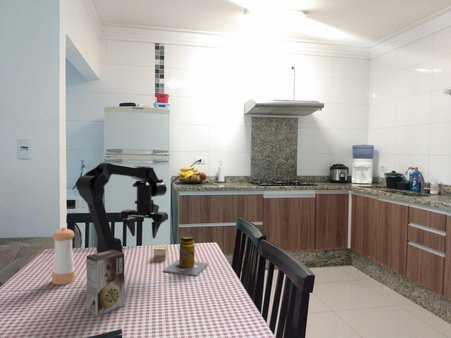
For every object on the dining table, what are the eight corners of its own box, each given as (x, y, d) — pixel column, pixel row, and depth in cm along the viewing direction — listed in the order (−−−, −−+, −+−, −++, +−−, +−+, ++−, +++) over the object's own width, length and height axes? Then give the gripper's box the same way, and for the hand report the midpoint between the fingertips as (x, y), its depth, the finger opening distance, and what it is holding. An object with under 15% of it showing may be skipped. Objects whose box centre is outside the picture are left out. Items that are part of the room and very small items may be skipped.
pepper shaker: (65, 285, 116) (65, 230, 115) (47, 283, 118) (47, 229, 117) (79, 278, 123) (79, 226, 122) (61, 276, 125) (61, 225, 124)
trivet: (196, 276, 127) (196, 274, 127) (162, 271, 131) (162, 270, 131) (208, 264, 141) (208, 263, 141) (177, 261, 145) (177, 259, 145)
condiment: (198, 266, 137) (199, 237, 136) (182, 271, 131) (182, 240, 130) (187, 262, 142) (187, 234, 141) (170, 266, 136) (171, 237, 135)
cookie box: (113, 299, 106) (113, 248, 105) (125, 305, 102) (125, 252, 101) (85, 309, 99) (85, 255, 98) (97, 316, 95) (97, 259, 94)
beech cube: (165, 260, 146) (165, 249, 146) (153, 260, 146) (153, 248, 146) (166, 256, 151) (166, 245, 151) (155, 256, 151) (155, 245, 150)
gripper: (174, 196, 137) (174, 234, 138) (134, 194, 143) (134, 230, 144) (161, 200, 127) (161, 241, 127) (119, 197, 132) (118, 236, 133)
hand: (143, 237), depth 133 cm, fingers open, 9 cm apart
